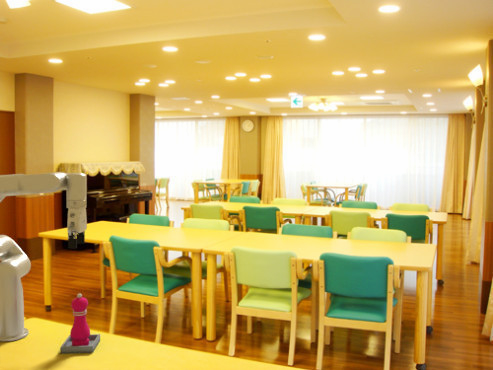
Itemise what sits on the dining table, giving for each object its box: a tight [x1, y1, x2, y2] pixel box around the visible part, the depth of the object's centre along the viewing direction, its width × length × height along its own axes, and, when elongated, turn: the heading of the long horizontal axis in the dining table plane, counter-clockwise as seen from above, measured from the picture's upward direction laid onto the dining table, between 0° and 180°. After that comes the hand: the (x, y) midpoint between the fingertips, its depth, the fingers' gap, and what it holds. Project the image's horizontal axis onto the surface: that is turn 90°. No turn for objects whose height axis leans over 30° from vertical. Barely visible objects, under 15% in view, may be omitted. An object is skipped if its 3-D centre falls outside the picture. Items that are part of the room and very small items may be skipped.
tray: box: [60, 333, 101, 355], centre depth 181 cm, size 12×12×2 cm
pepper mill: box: [69, 293, 91, 346], centre depth 181 cm, size 7×7×20 cm
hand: (76, 246), depth 191 cm, fingers open, 9 cm apart
